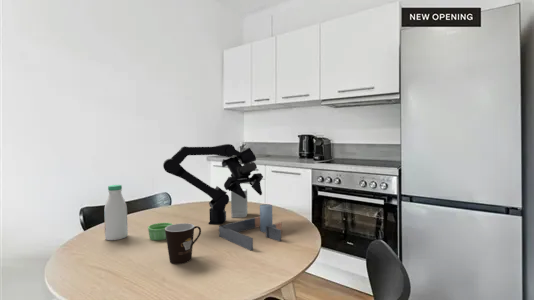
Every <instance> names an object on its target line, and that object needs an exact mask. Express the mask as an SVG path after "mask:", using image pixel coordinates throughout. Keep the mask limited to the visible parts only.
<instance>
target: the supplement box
mask: <svg viewBox="0 0 534 300" xmlns="http://www.w3.org/2000/svg"><path fill="white" fill-rule="evenodd" d="M242 190H243V191H244V193H245V195H246V198H245V199H244V198H243V197H241V196H239V195H238V194H236V193H234V192H232V191H230V206H231V208H230V209H231V211H230V212H231V218H247V215H248V212H249V211H248V188H242Z"/></svg>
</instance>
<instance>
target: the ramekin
mask: <svg viewBox="0 0 534 300" xmlns="http://www.w3.org/2000/svg"><path fill="white" fill-rule="evenodd" d="M170 225H174V224H173V223H172V222H157V223H154V224H153V223H152V224H150V225H148V226H147V230H148V237H149V239H150V240H152V241H163V240H164V241H165V240H166V233H165V228H166V227H167V226H170Z"/></svg>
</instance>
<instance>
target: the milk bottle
mask: <svg viewBox="0 0 534 300" xmlns="http://www.w3.org/2000/svg"><path fill="white" fill-rule="evenodd" d="M107 190H108V197H107V200H106V201H105V204H104V213H103V214H104V217H103V218H104V238H105V240H106V241H118V240H122V239H125V238H127V237H128V235H129V234H128V233H129V232H128V231H129V230H128V227H129V226H128V207H127V202H126V201H125V199H124V197H123V194H122V190H123V185H122V184H112V185H108V187H107Z"/></svg>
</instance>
